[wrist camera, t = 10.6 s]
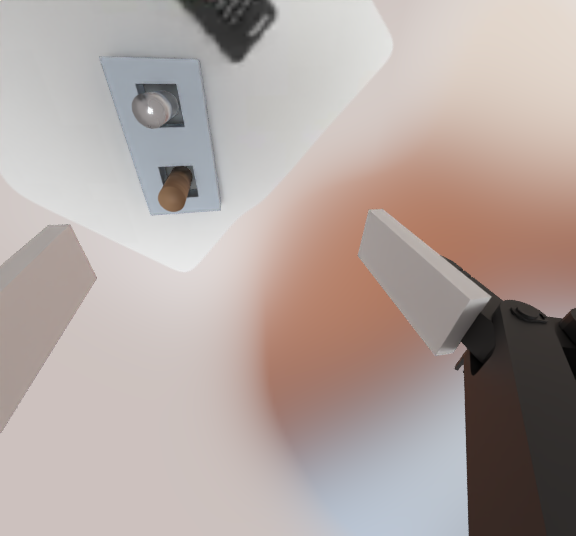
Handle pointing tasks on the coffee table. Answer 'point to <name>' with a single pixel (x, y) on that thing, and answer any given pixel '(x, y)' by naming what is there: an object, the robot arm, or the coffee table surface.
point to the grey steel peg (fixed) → (154, 108)
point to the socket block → (166, 128)
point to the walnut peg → (175, 189)
